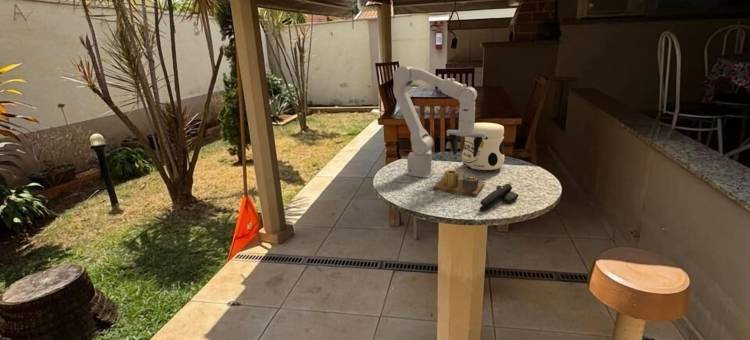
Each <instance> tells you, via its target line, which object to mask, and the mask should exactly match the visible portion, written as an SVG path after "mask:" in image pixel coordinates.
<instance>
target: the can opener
mask: <svg viewBox="0 0 750 340" xmlns="http://www.w3.org/2000/svg"><path fill="white" fill-rule="evenodd" d="M495 188H496V189H494V190H493V191H491V193H489V194H487V195H486V196H484V198H483V199H482V200H481V201H480V205H481V206H480V207H479V208H478V209H479V211H481V212H486V211H488V210H490V209H492V208H493V207H494V206H495V205H497V204H498V203H500V201H502V202H503V203H506V204H509V205H511V204H513V203H514V202H516V201H517V200H518V198H519V194H518V193H516V192H515V191H514V190H513V189H512V184H510V183H506V184H504V185H496V187H495ZM512 190H513V191H512Z"/></svg>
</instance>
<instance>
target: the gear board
mask: <svg viewBox="0 0 750 340" xmlns="http://www.w3.org/2000/svg"><path fill="white" fill-rule="evenodd" d="M484 188H485V183H484V182H479V178H477V177H475V176H465V177H464V178H463V179H459V185H457V186H456V187H447V186H446V185H444V177H442V178H441V179H440V180H439V181H437V183H435V185H434V186H433V187H432V190H433V191H438V192H445V193H451V194H456V195H463V196H469V197H478V196H479V194H480V193H481V192H482V190H483V189H484Z"/></svg>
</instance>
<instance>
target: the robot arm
mask: <svg viewBox="0 0 750 340" xmlns="http://www.w3.org/2000/svg"><path fill="white" fill-rule="evenodd" d="M392 79H393V89H392V91H393V96H394V98H395V99H396V102H397V104H398V106H399V110H400V112H401V113H402V115H403V116H402V117H403V118H404V120H405V123H406V125H407V128H408V131H409V132H410V142H411V150H412V151H410V152H409V153H408V154H407V163H406V165H407V167H406V168H407V169H406V170H407V171H406V172H407V173H406V176H412V177H419V178H426V179H429V178H430V177H432V176H433V174H435V173H436V172H435V170H432V165H433V164H432V160H433V158H432V157H433V153H432V148H433V146H434V145H435V143H434V139H433V137H432V136H431V135H430V134H429V132H428V131H427V130H426V128H424V127H423V125H422V123H421V119H420V118H419V115H418V113H417V110H416V108H415V105H414V103H413V101H412V99H411V96H410V94H409V90H410V88H411V85H412V84H413V83H414V82H415V81H422V82H425V83H428V84H430V85H432V86H434V87H437V88H439V89H440V92H441V93H442V94H444V95H446V96H449V97H451V98H453V99H455V100H458V102H459V110H458V114H459V115H458V129H447V130H446V136H447V137H448V140H449V141H448V142H450V145H451V148H452V151H453V155H454V156H455V155H457V154H458V142H459V137H463V138H465V137H473V138H475V139H474V153H473V157H476V156H477V151H478V148H479V146H480V144H481V142H482V140H483V139H485V138H486V133H483V132H477V131H474V123H476V122H475V121H476V120H475V118H476V99H477V97H478V91H477V90H476V89H475V88H474V87H473V86H470V85H469V86H467V84H466V83H463V84H462V83H460V82H458V81H456V78H454V77H451V78H449V77H448V78H445V79H443V78H441V77H440V76H437V75H436V74H434V73H431V72H430V71H427V70H425V69H423V68H421V67H419V66H415V65H413V64H407V65H405V66H399V67H397V68H396V70H395V71H394V73H393V75H392Z"/></svg>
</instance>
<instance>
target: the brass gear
mask: <svg viewBox="0 0 750 340" xmlns="http://www.w3.org/2000/svg"><path fill="white" fill-rule="evenodd" d="M443 178H444V185H446V186H447V187H456V186H457V185H459V180H460V172H458V171H457V170H453V169H451V170H450V169H449V170H446V171H444V174H443Z"/></svg>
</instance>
